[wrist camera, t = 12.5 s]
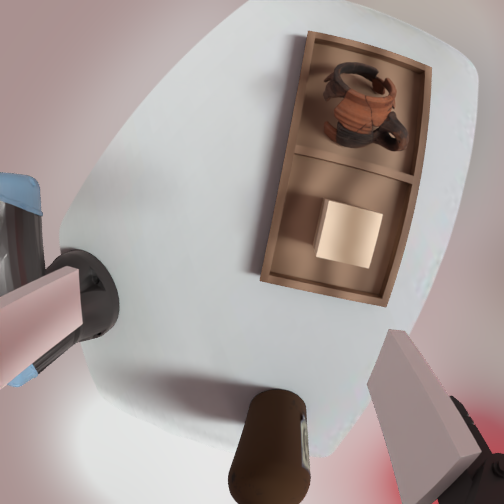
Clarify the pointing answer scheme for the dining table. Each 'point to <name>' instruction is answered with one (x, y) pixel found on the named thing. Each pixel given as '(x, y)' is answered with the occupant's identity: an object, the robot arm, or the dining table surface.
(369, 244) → the beech block
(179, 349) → the dining table surface
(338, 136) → the pottery mug
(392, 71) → the walnut tray
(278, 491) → the olive oil
